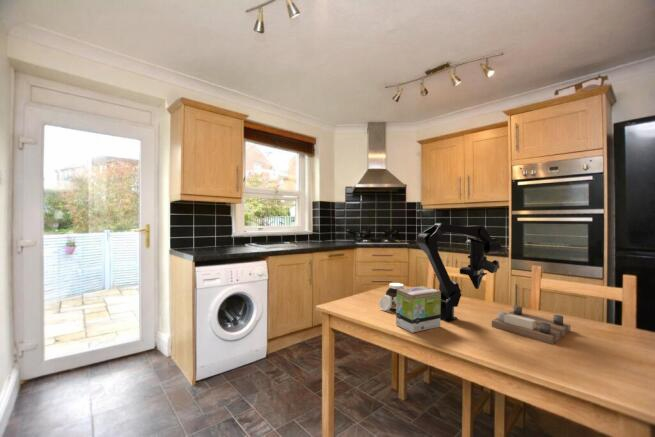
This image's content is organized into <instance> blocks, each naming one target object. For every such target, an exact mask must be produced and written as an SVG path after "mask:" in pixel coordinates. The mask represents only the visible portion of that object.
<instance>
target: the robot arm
mask: <svg viewBox="0 0 655 437" xmlns="http://www.w3.org/2000/svg"><path fill="white" fill-rule="evenodd" d="M444 233H447V234H449V233H450V234H456V235H457V234H458V235H463V236H465V237H467V238H468V239H467V240H466V241H465V244H469V255H467V259H469V264H467V266H462V267H461V268H459V275H464V276H468V277H469V279H470V281H471V283H472V285H473V287H474V289H475V290H478V289H479V288H480V285H481V283H482V280H483V278H484V276H486V275H487V274H488V273H490V274H494V273H497V271H498V270H499V269H500V268H501V266H500V263H499V262H500V261H498V260H496V259H494V260H488V257H487V255H485V254H498V253H500V252H501V250H502V245H501V242H499V240H498V237H497V238H496V237H491V235H490V234H489V232H488V231H487V228H486V227H485V226H484V225H457V224H449V223H445V222H436V223H434V224H433V225H432V226H431V227H429V228H427V229H425V230H424V231H423V232H420V233H419V234H418V235H417V236H416V244H417V245H418V247H419V248H420V250H422V251H423V253H425V254H426V256H427V258H428V261H429V263H430V264H431V267H432V269H433V272H434V274H435V276H436V278H437V280H438V282H439V284H438V291H441V309H440V310H441V314H440V320H442V321H444V322H445V321H446V322H453V321H455V320H458V317H457V316H455V307H458V306H459V304H460V303H459V302H460V299H461V297H462V290H461V289H460V285H459V283H458V282H455V281H452V280H451V278H450V276H449V274H448V271H447V269H446V267H445V264H444V262H443V260H442V258H441V256H440V253H439V242H438V241H439V240H440V239H441V238H442V237H443V234H444ZM485 271H487V272H488V273H487V272H485Z"/></svg>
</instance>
